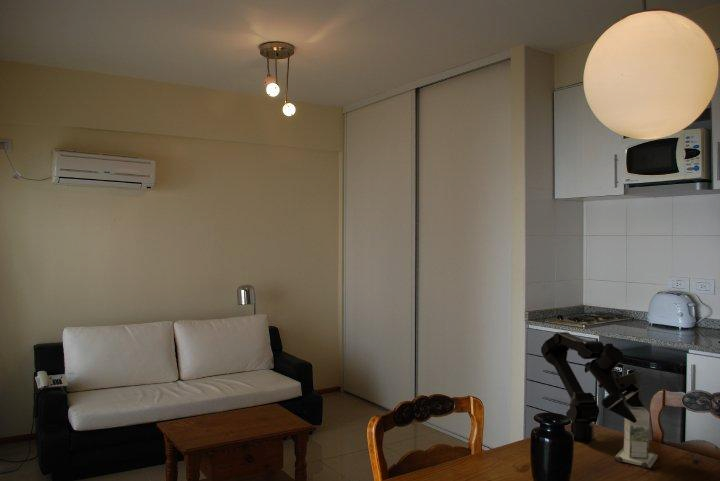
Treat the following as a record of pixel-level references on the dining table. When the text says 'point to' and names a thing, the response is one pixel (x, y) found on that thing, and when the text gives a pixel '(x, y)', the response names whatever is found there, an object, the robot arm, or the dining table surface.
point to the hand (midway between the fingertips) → (641, 418)
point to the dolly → (636, 459)
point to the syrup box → (637, 434)
